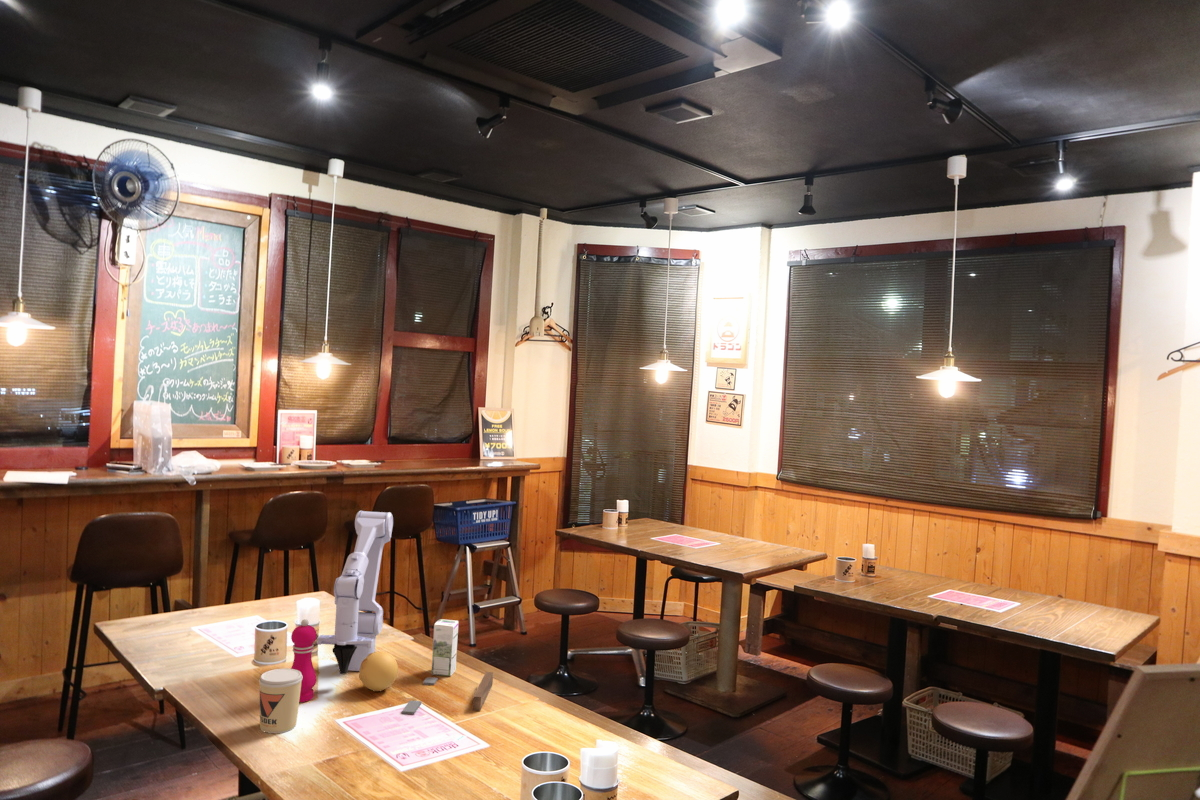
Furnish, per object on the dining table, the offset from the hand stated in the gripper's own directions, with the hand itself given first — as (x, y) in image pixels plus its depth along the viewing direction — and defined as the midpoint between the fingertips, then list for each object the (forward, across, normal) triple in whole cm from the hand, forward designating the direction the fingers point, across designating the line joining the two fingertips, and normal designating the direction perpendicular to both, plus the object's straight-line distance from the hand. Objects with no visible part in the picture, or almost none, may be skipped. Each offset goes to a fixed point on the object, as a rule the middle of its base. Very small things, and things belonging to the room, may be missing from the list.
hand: (343, 672), depth 206 cm
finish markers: (+4, +21, -2) cm, 22 cm away
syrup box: (+4, +23, +16) cm, 29 cm away
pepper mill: (+4, -8, -9) cm, 12 cm away
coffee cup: (+4, -6, -26) cm, 27 cm away
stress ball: (+4, +9, 0) cm, 10 cm away
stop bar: (+4, +37, 0) cm, 38 cm away
